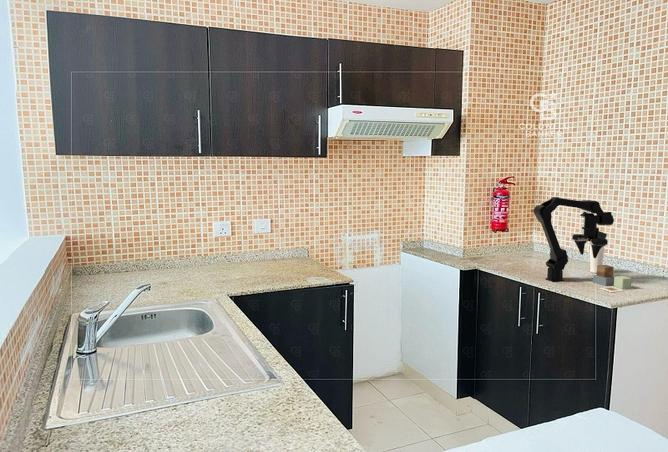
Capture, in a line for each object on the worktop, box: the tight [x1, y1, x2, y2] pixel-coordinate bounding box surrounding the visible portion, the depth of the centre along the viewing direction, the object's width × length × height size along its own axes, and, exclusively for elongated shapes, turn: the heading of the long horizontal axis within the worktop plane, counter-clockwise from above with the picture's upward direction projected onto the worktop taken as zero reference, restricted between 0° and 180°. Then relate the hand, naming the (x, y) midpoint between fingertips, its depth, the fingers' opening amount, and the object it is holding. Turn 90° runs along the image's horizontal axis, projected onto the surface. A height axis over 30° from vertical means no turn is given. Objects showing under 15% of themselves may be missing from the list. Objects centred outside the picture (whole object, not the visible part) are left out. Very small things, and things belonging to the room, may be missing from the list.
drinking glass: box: [589, 243, 605, 274], centre depth 267 cm, size 7×7×15 cm
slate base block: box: [592, 274, 616, 287], centre depth 244 cm, size 7×7×4 cm
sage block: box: [613, 275, 633, 290], centre depth 235 cm, size 5×5×5 cm
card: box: [599, 286, 625, 293], centre depth 232 cm, size 7×7×1 cm
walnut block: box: [596, 264, 615, 278], centre depth 243 cm, size 5×5×5 cm
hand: (588, 256), depth 251 cm, fingers open, 9 cm apart
